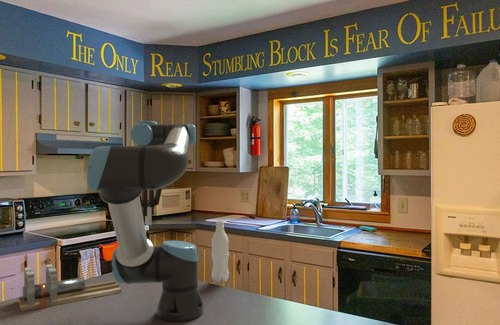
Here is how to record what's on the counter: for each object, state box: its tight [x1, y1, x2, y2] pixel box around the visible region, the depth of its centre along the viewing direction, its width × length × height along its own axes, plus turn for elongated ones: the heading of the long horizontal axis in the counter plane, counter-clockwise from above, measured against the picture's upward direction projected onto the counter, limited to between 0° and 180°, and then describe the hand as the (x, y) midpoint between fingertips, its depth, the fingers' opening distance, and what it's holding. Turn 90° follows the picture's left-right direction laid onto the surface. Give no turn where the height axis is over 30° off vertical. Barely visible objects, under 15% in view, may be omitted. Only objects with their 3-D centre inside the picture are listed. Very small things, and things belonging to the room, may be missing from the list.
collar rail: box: [17, 263, 122, 312], centre depth 149 cm, size 13×34×12 cm, turn 124°
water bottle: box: [211, 220, 230, 284], centre depth 167 cm, size 7×7×25 cm
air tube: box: [21, 276, 86, 301], centre depth 146 cm, size 20×5×5 cm, turn 124°
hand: (148, 224), depth 152 cm, fingers closed
